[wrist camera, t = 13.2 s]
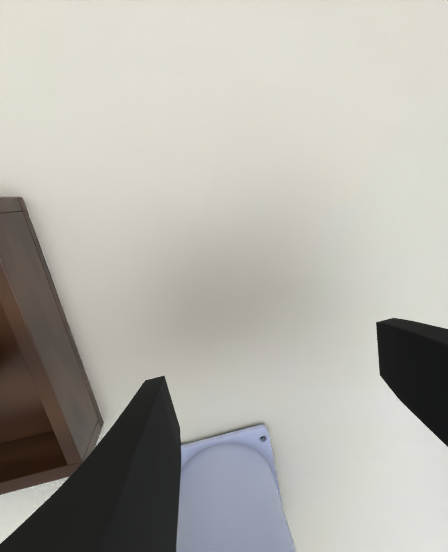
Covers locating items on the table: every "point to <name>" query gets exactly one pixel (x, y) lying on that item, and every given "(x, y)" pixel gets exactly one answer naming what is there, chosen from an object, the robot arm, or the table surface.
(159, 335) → the table surface
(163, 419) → the robot arm
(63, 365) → the crate
